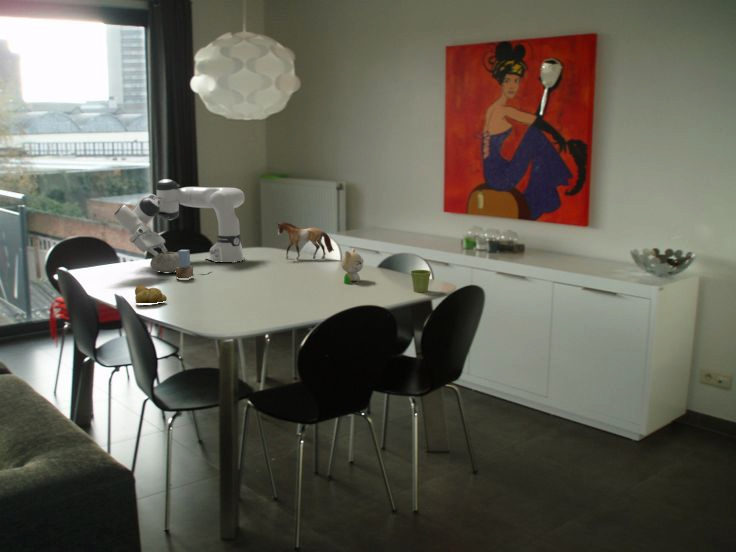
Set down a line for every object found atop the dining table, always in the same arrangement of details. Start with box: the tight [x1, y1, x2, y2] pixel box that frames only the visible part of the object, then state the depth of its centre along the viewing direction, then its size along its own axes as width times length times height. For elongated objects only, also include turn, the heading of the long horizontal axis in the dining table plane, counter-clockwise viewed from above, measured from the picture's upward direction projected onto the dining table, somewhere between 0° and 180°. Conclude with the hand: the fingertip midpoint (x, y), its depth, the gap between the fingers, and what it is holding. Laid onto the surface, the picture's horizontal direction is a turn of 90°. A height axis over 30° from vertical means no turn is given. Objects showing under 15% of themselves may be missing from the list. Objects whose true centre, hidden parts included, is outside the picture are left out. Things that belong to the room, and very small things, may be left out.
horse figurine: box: [275, 222, 335, 260], centre depth 435 cm, size 31×8×21 cm, turn 85°
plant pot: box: [409, 269, 432, 293], centre depth 352 cm, size 9×9×9 cm
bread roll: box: [134, 284, 167, 304], centre depth 333 cm, size 13×10×8 cm
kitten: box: [341, 247, 365, 285], centre depth 375 cm, size 15×10×15 cm, turn 161°
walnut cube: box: [175, 265, 194, 278], centre depth 386 cm, size 6×6×6 cm
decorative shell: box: [149, 251, 179, 273], centre depth 405 cm, size 18×18×10 cm
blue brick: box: [177, 249, 191, 268], centre depth 385 cm, size 4×4×8 cm
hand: (161, 253), depth 387 cm, fingers open, 8 cm apart
